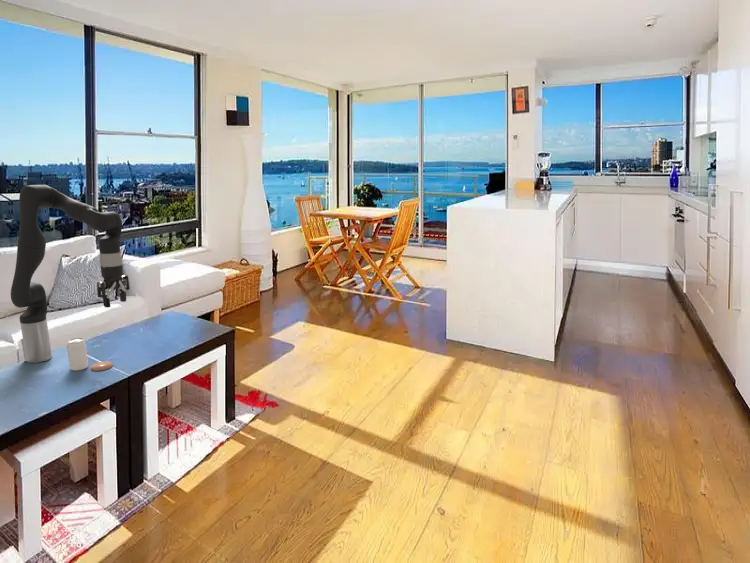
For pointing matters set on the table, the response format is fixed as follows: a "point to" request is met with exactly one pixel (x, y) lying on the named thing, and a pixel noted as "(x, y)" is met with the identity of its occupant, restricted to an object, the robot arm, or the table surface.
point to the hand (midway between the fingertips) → (115, 304)
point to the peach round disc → (101, 366)
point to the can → (77, 354)
